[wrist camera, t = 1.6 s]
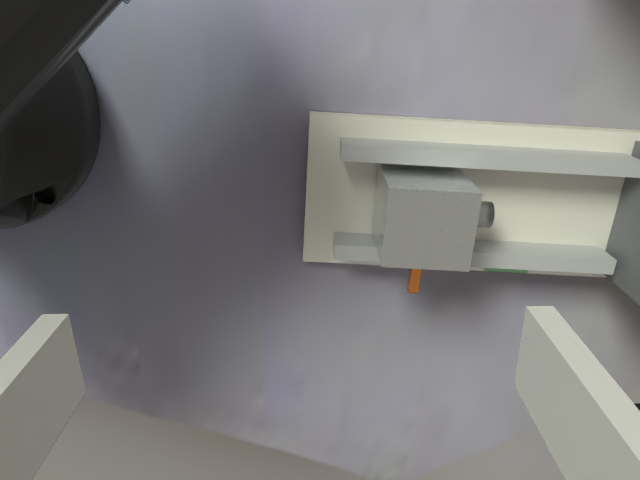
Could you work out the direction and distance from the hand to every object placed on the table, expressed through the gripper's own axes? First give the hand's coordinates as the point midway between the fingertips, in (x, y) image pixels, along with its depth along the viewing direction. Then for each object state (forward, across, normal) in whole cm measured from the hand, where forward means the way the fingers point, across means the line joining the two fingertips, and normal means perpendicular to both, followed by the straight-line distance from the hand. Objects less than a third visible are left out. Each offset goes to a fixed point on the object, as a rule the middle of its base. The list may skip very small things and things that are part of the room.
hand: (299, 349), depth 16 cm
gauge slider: (+20, +8, -3) cm, 22 cm away
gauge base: (+21, +12, -2) cm, 25 cm away
